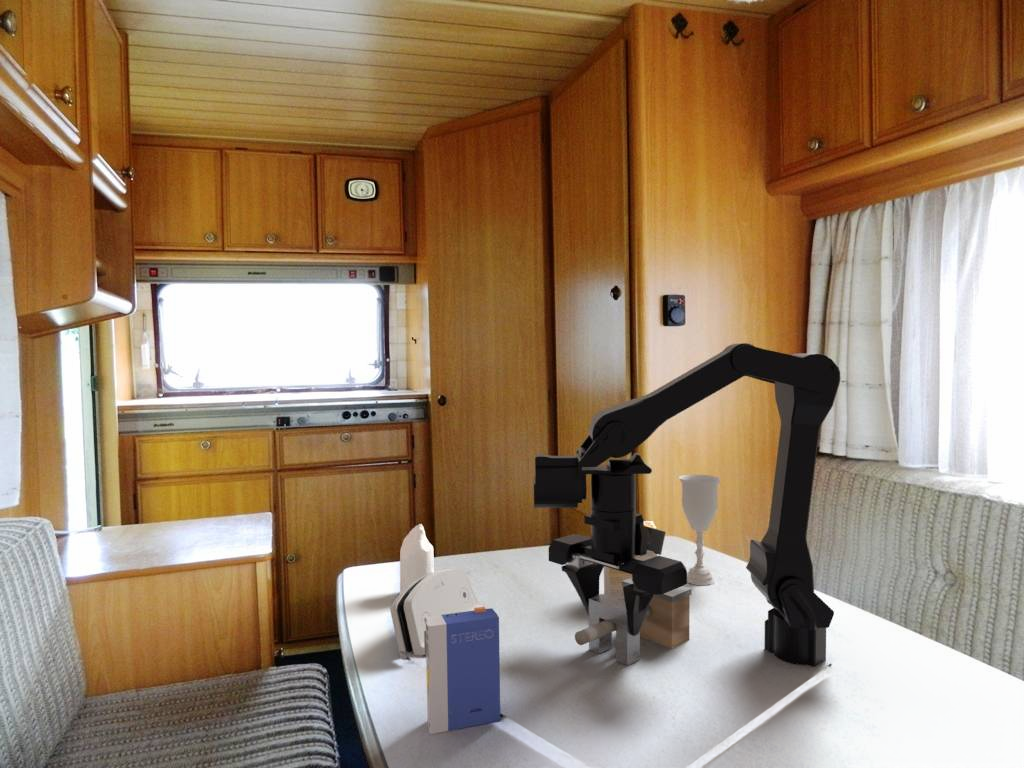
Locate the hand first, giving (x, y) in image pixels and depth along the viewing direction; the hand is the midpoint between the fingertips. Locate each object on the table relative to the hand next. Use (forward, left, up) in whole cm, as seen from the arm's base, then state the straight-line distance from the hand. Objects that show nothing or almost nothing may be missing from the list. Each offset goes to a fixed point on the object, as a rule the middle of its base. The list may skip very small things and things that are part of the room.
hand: (613, 626), depth 88 cm
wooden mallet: (0, -2, -5) cm, 5 cm away
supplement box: (+11, -17, -5) cm, 21 cm away
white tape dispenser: (+22, +12, -5) cm, 26 cm away
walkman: (+2, +23, -5) cm, 24 cm away
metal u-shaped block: (0, 0, -4) cm, 4 cm away
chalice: (+10, -35, -5) cm, 37 cm away
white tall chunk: (+38, +5, -5) cm, 39 cm away
